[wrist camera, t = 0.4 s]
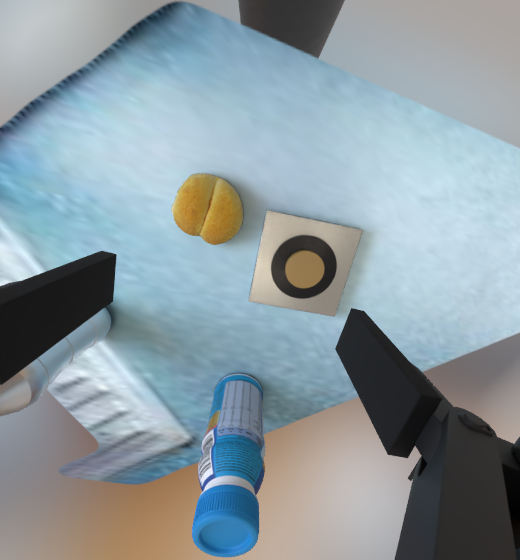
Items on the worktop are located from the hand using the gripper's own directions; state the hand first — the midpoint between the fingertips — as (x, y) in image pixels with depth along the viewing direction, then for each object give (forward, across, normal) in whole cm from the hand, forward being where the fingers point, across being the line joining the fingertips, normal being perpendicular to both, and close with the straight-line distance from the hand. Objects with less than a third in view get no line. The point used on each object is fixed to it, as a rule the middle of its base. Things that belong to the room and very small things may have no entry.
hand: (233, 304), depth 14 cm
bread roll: (+23, -6, +2) cm, 24 cm away
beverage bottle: (+23, +4, -26) cm, 35 cm away
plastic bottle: (+23, -20, -17) cm, 35 cm away
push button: (+23, +8, -2) cm, 24 cm away
